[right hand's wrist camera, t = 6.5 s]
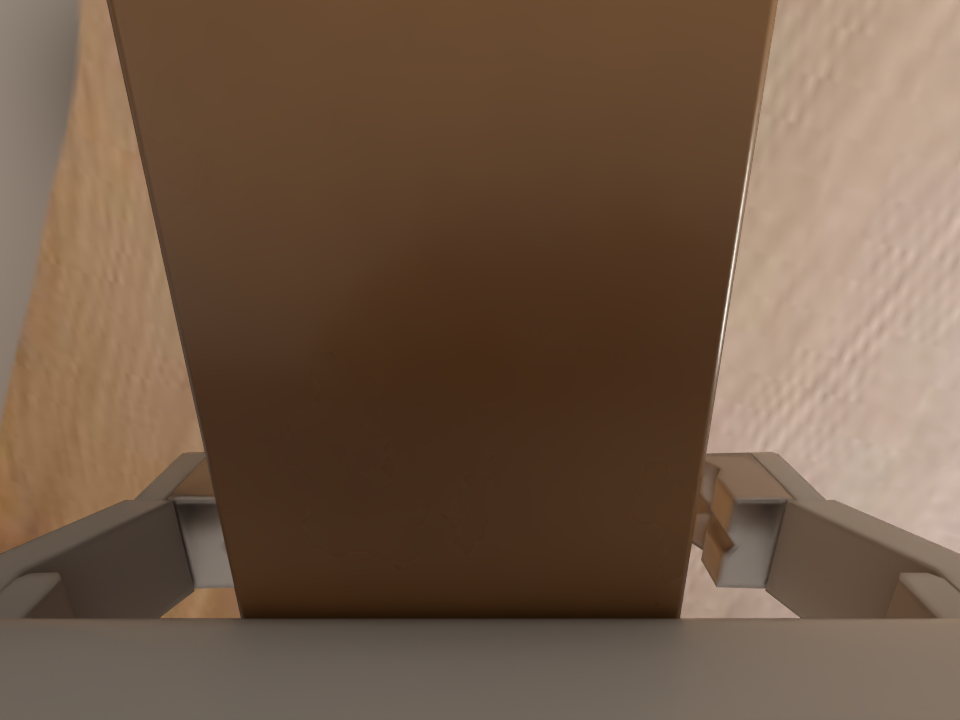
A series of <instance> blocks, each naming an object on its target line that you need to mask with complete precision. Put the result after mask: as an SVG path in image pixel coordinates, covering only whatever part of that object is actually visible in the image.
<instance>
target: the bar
mask: <svg viewBox="0 0 960 720" xmlns="http://www.w3.org/2000/svg"><path fill="white" fill-rule="evenodd" d="M777 3H778V0H107V4H108V9H109V13H110V18H111V22H112V27H113V32H114V36H115V41H116V45H117V50H118V55H119V59H120V64H121V68H122V73H123V78H124V82H125V87H126V91H127V96H128V101H129V105H130V110H131V114H132V119H133V124H134V128H135V133H136V137H137V142H138V147H139V151H140V156H141V160H142V165H143V170H144V174H145V179H146V183H147V188H148V193H149V197H150V202H151V206H152V211H153V216H154V220H155V225H156V229H157V234H158V239H159V243H160V248H161V252H162V257H163V261H164V266H165V271H166V275H167V280H168V284H169V289H170V294H171V298H172V303H173V307H174V312H175V317H176V321H177V326H178V330H179V335H180V340H181V344H182V349H183V353H184V358H185V363H186V367H187V372H188V376H189V381H190V386H191V390H192V395H193V399H194V404H195V409H196V413H197V418H198V422H199V427H200V432H201V436H202V441H203V445H204V450H205V455H206V459H207V464H208V468H209V473H210V478H211V482H212V487H213V491H214V496H215V501H216V505H217V510H218V514H219V519H220V524H221V528H222V533H223V537H224V542H225V547H226V551H227V556H228V560H229V565H230V570H231V574H232V579H233V583H234V588H235V593H236V597H237V602H238V606H239V611H240V616H241V618H344V619H599V618H600V619H601V618H680V614H681V608H682V601H683V595H684V589H685V583H686V576H687V570H688V564H689V557H690V551H691V545H692V538H693V532H694V526H695V520H696V513H697V507H698V501H699V494H700V488H701V482H702V475H703V469H704V463H705V457H706V450H707V444H708V438H709V431H710V425H711V419H712V412H713V406H714V400H715V393H716V387H717V381H718V375H719V368H720V362H721V356H722V349H723V343H724V337H725V330H726V324H727V318H728V312H729V305H730V299H731V293H732V286H733V280H734V274H735V267H736V261H737V255H738V249H739V242H740V236H741V230H742V223H743V217H744V211H745V204H746V198H747V192H748V186H749V179H750V173H751V167H752V160H753V154H754V148H755V141H756V135H757V129H758V123H759V116H760V110H761V104H762V97H763V91H764V85H765V78H766V72H767V66H768V60H769V53H770V47H771V41H772V34H773V28H774V22H775V15H776V9H777Z"/></svg>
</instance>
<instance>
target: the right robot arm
mask: <svg viewBox="0 0 960 720" xmlns="http://www.w3.org/2000/svg"><path fill="white" fill-rule="evenodd" d="M692 543H693V544H694V545H696V546H697V547H699V548H700V549H702V550H703V553H702V559H701V560H702V562H703V564H704V566H705V567H706V569H707V571H708V573H709V574H710V576H711V578H712V580H713V582H714V583H715V585H716V587H732V588H766V590H765V591H767V592H768V593H769V594H770V595H772V596H773V597H774V598H776V599H777V600H778V601H780V602H781V603H782V604H783V605H785V606H786V607H787V608H789V609H790V610H791V611H792V612H794V613H795V614H796V615H798V616H799V617H800V618H601V619H600V618H599V619H344V618H160V617H161V616H163V615H164V614H165V613H166V612H168V611H169V610H170V609H172V608H173V607H174V606H175V605H177V604H178V603H179V602H181V601H182V600H183V599H185V598H186V597H187V596H188V595H190V594H191V593H192V592H194V588H227V587H234V583H233V579H232V574H231V570H230V565H229V560H228V556H227V551H226V547H225V542H224V537H223V533H222V528H221V524H220V519H219V514H218V510H217V505H216V501H215V496H214V491H213V487H212V482H211V478H210V473H209V468H208V464H207V459H206V455H205V452H189V453H183V454H181V455H180V456H179V457H178V458H177V459H176V460H175V461H174V462H173V463H172V464H171V465H170V466H169V467H168V468H167V469H166V470H165V471H164V472H163V473H161V474H160V475H159V476H158V477H157V478H156V479H155V480H154V481H153V482H152V483H151V484H150V485H149V486H148V487H147V488H146V489H145V490H144V491H143V492H142V493H141V494H140V495H139V496H138V497H137V498H135V499H134V500H124V501H122V502H120V503H117V504H115V505H113V506H110V507H108V508H106V509H103V510H101V511H99V512H96V513H94V514H92V515H90V516H87V517H85V518H83V519H80V520H78V521H76V522H73V523H71V524H69V525H66V526H64V527H62V528H59V529H57V530H55V531H52V532H50V533H48V534H45V535H43V536H41V537H38V538H36V539H34V540H31V541H29V542H27V543H24V544H22V545H20V546H17V547H15V548H13V549H10V550H8V551H6V552H3V553H1V554H0V720H960V554H959V553H956V552H954V551H952V550H949V549H947V548H945V547H942V546H940V545H938V544H935V543H933V542H931V541H928V540H926V539H924V538H921V537H919V536H917V535H914V534H912V533H910V532H908V531H905V530H903V529H901V528H898V527H896V526H894V525H891V524H889V523H887V522H884V521H882V520H880V519H877V518H875V517H873V516H870V515H868V514H866V513H863V512H861V511H859V510H856V509H854V508H852V507H850V506H847V505H845V504H843V503H840V502H838V501H836V500H826V499H825V498H824V497H822V496H821V495H820V494H819V493H818V492H817V491H816V490H815V489H814V488H813V487H812V486H811V485H810V484H809V483H808V482H807V481H806V480H805V479H804V478H803V477H802V476H801V475H800V474H799V473H798V472H797V471H796V470H795V469H793V468H792V467H791V466H790V465H789V464H788V463H787V462H786V461H785V460H784V459H783V458H782V457H781V456H780V455H779V454H776V453H774V452H755V453H714V454H706V457H705V463H704V469H703V475H702V482H701V488H700V494H699V501H698V507H697V513H696V520H695V526H694V532H693V538H692Z"/></svg>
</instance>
